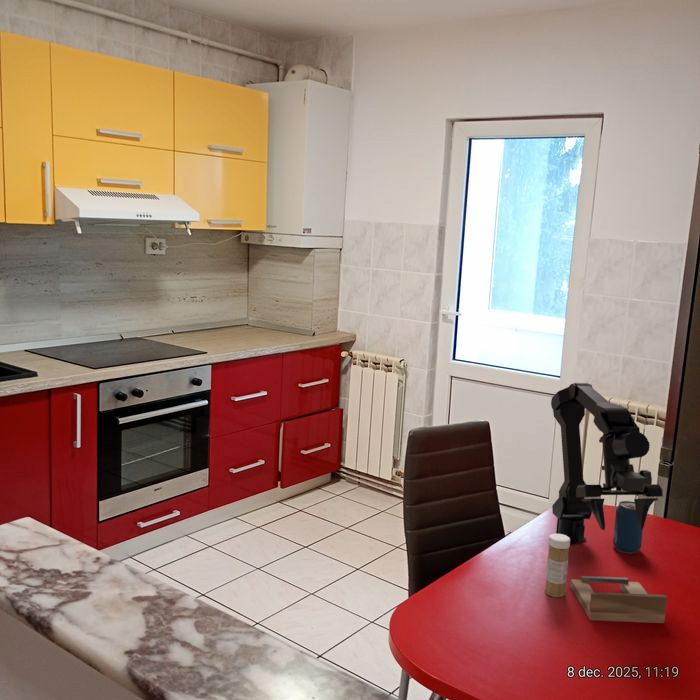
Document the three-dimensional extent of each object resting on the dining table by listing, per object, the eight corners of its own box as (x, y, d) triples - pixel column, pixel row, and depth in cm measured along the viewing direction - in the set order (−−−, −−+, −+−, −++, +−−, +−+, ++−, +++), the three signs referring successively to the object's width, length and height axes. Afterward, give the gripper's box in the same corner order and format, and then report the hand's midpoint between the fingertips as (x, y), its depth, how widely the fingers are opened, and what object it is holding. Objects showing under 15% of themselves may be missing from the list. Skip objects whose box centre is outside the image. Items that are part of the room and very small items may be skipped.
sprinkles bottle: (552, 586, 173) (557, 531, 171) (569, 594, 169) (574, 537, 167) (540, 592, 170) (544, 535, 168) (557, 600, 167) (562, 542, 164)
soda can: (646, 551, 195) (651, 507, 193) (628, 556, 191) (633, 511, 189) (624, 541, 201) (628, 498, 199) (606, 546, 197) (610, 502, 195)
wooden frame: (570, 586, 173) (572, 562, 172) (637, 589, 173) (640, 565, 172) (590, 620, 159) (592, 594, 158) (664, 623, 159) (667, 597, 158)
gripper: (593, 458, 167) (599, 530, 164) (672, 458, 169) (679, 530, 166) (572, 461, 178) (577, 529, 174) (647, 461, 180) (653, 529, 177)
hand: (622, 529), depth 173 cm, fingers open, 9 cm apart
